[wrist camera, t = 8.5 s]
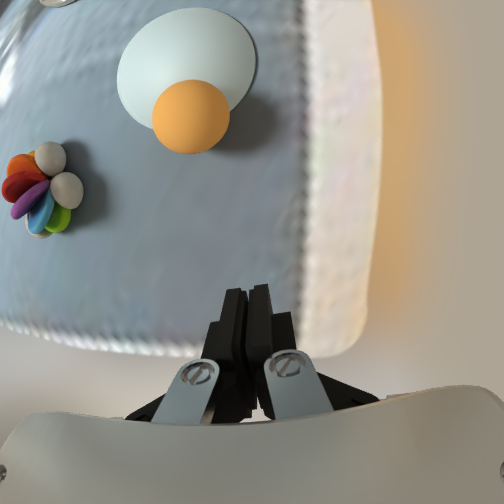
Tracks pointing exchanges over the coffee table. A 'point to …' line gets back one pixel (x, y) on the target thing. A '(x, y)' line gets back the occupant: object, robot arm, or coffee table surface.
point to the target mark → (185, 59)
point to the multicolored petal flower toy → (42, 189)
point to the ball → (190, 116)
